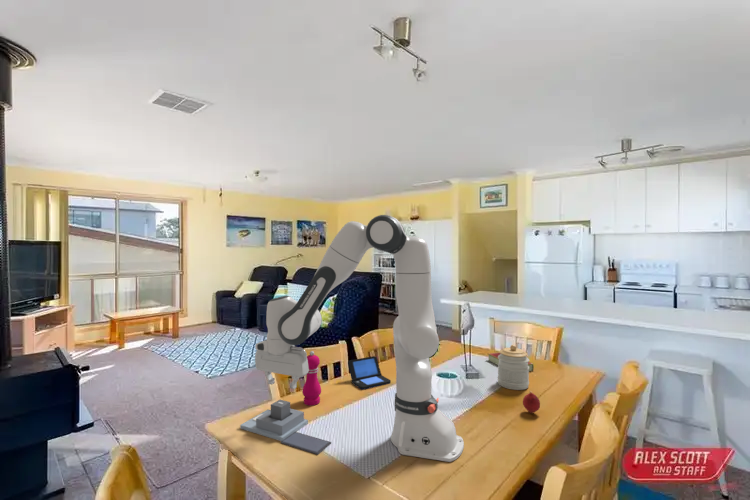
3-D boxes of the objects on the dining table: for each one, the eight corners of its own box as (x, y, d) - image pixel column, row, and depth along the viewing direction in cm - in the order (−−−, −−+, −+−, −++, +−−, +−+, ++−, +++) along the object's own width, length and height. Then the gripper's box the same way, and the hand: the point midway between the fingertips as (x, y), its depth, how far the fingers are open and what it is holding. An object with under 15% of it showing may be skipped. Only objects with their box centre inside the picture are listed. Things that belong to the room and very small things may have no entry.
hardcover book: (506, 359, 201) (506, 351, 201) (533, 371, 181) (533, 363, 181) (487, 360, 197) (487, 352, 197) (512, 374, 177) (512, 365, 177)
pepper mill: (317, 407, 139) (317, 354, 139) (299, 405, 141) (299, 353, 140) (323, 399, 146) (323, 349, 146) (306, 397, 148) (306, 348, 147)
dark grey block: (290, 422, 125) (290, 401, 124) (281, 428, 121) (281, 406, 120) (279, 419, 127) (279, 399, 126) (270, 425, 123) (270, 404, 122)
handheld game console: (361, 391, 155) (361, 369, 155) (346, 381, 167) (346, 360, 167) (392, 383, 164) (392, 362, 164) (375, 374, 175) (376, 355, 175)
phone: (331, 445, 114) (331, 441, 114) (317, 456, 108) (317, 453, 108) (295, 434, 120) (295, 431, 120) (280, 445, 114) (280, 441, 114)
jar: (531, 383, 164) (531, 343, 164) (525, 393, 153) (526, 350, 153) (501, 377, 171) (501, 339, 171) (494, 386, 160) (494, 346, 160)
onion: (540, 411, 137) (540, 389, 136) (539, 418, 131) (540, 395, 131) (523, 408, 139) (523, 387, 139) (522, 414, 134) (522, 392, 134)
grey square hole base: (308, 423, 126) (308, 411, 126) (282, 441, 115) (282, 428, 115) (267, 412, 135) (267, 401, 134) (240, 428, 123) (240, 415, 123)
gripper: (311, 345, 121) (313, 387, 122) (264, 339, 131) (266, 378, 131) (299, 350, 116) (301, 394, 116) (251, 344, 125) (252, 384, 125)
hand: (282, 385), depth 123 cm, fingers open, 8 cm apart
